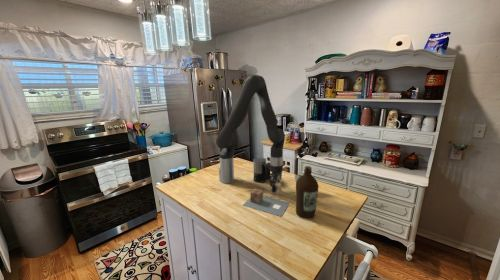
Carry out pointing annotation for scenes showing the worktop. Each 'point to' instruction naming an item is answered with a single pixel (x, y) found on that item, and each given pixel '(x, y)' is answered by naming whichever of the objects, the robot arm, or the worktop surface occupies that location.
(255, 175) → the milk frother
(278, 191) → the maple block
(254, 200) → the walnut block
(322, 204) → the worktop surface
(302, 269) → the worktop surface
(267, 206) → the mat
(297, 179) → the food container
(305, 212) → the olive oil
